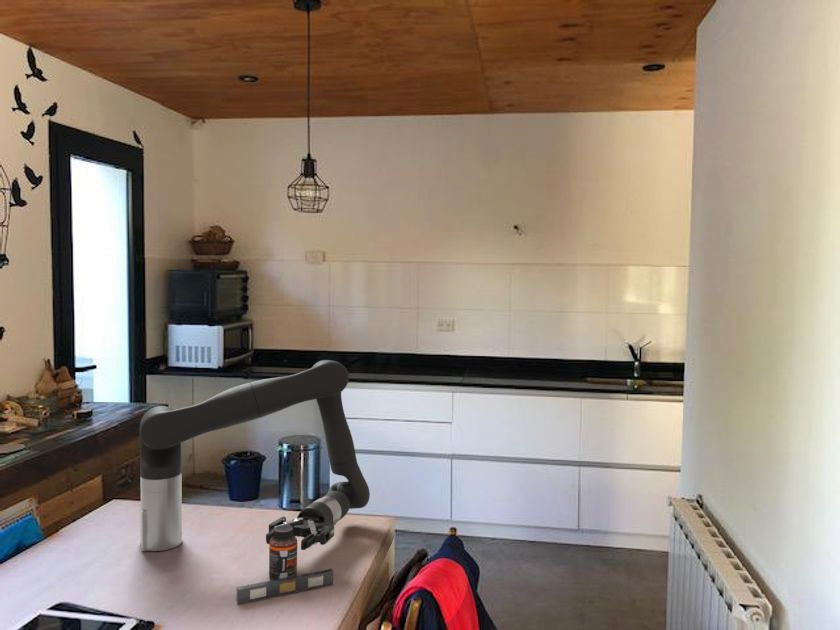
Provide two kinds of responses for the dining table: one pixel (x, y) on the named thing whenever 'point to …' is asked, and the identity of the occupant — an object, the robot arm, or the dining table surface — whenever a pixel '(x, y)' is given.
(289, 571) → the supplement bottle
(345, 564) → the dining table surface
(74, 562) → the dining table surface
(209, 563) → the dining table surface
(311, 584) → the rail
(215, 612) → the dining table surface
